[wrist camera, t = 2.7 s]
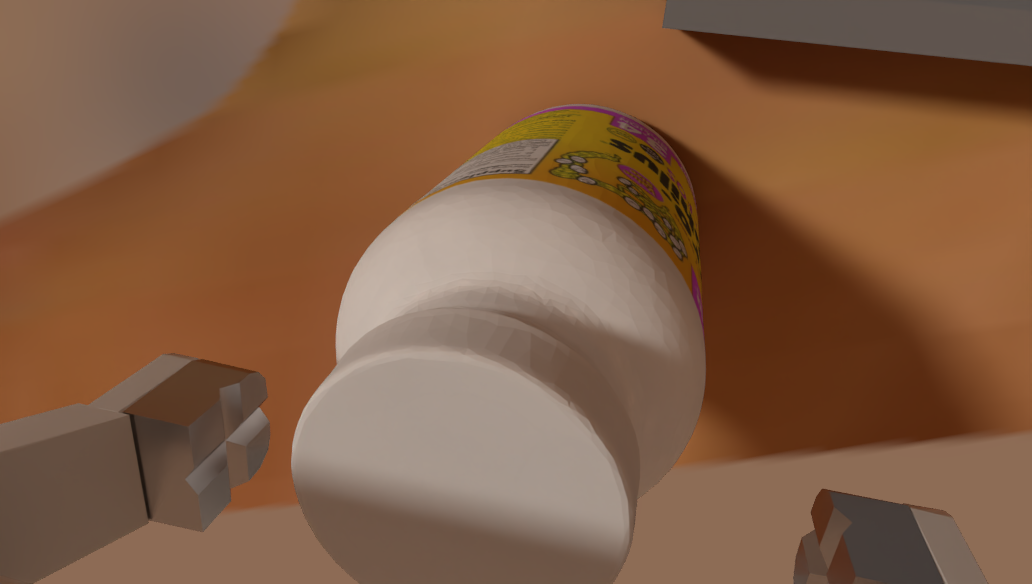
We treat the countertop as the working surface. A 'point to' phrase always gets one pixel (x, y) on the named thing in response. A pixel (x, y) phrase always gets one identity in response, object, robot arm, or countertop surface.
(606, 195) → the supplement bottle
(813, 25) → the tray
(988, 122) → the countertop surface
